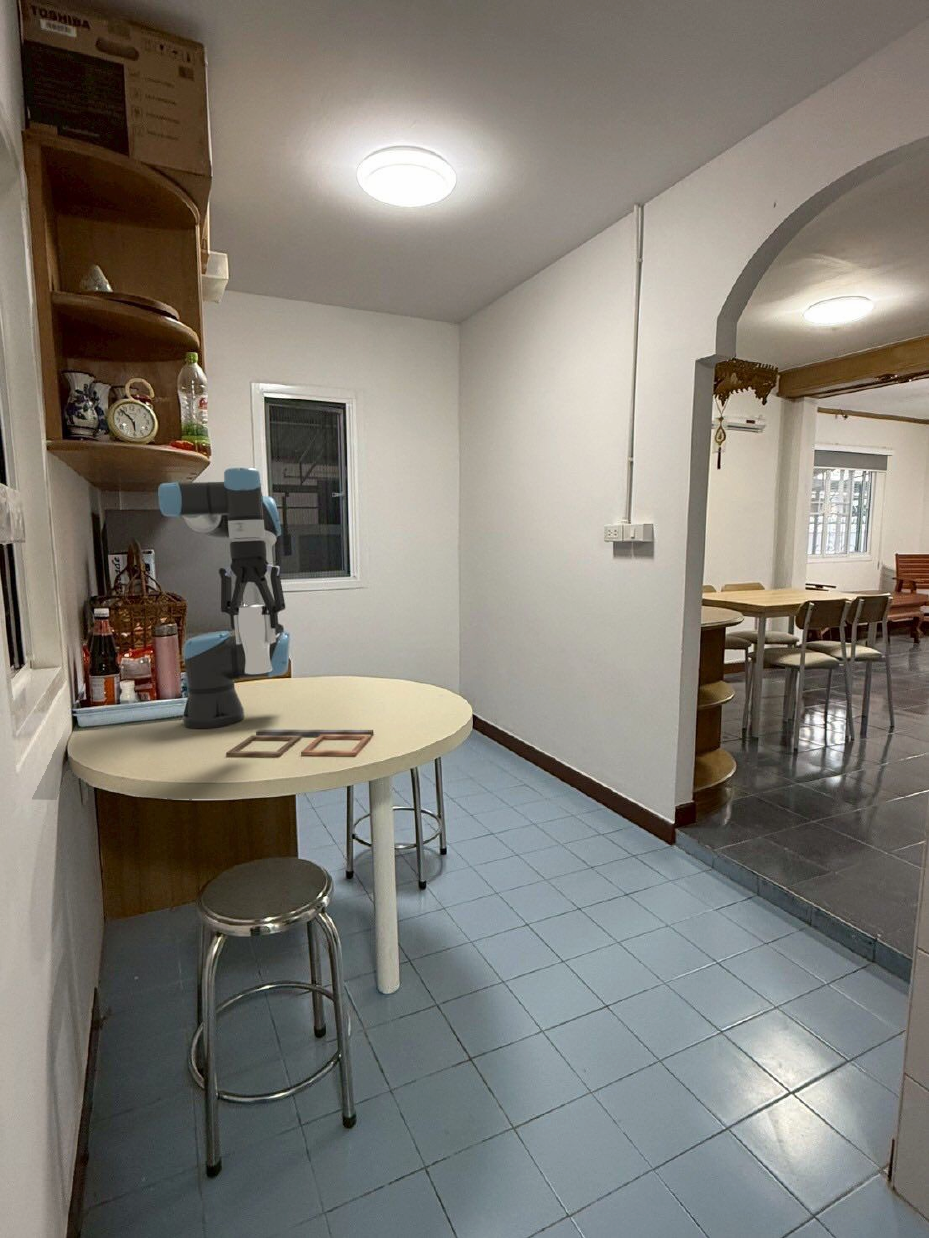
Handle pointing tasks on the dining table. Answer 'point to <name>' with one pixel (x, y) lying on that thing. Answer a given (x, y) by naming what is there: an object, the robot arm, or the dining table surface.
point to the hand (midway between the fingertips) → (256, 642)
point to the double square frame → (296, 736)
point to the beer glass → (254, 638)
